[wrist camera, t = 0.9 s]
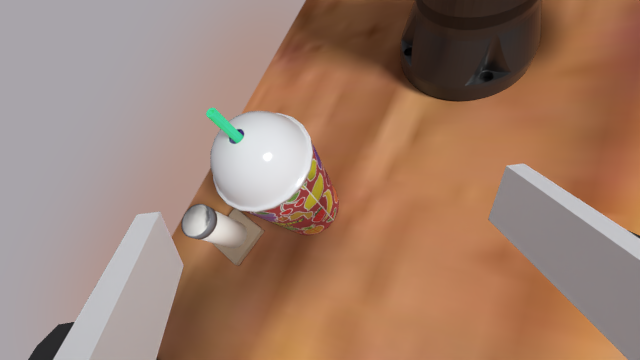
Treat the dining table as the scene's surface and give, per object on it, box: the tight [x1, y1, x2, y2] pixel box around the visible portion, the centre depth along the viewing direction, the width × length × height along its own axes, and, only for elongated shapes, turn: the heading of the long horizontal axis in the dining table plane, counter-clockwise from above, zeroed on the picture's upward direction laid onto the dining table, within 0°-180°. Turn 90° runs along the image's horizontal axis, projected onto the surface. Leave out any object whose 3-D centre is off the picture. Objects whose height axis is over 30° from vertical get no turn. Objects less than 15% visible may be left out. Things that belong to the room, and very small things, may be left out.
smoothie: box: [206, 108, 339, 235], centre depth 26 cm, size 8×8×20 cm
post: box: [182, 204, 264, 266], centre depth 33 cm, size 5×5×8 cm
